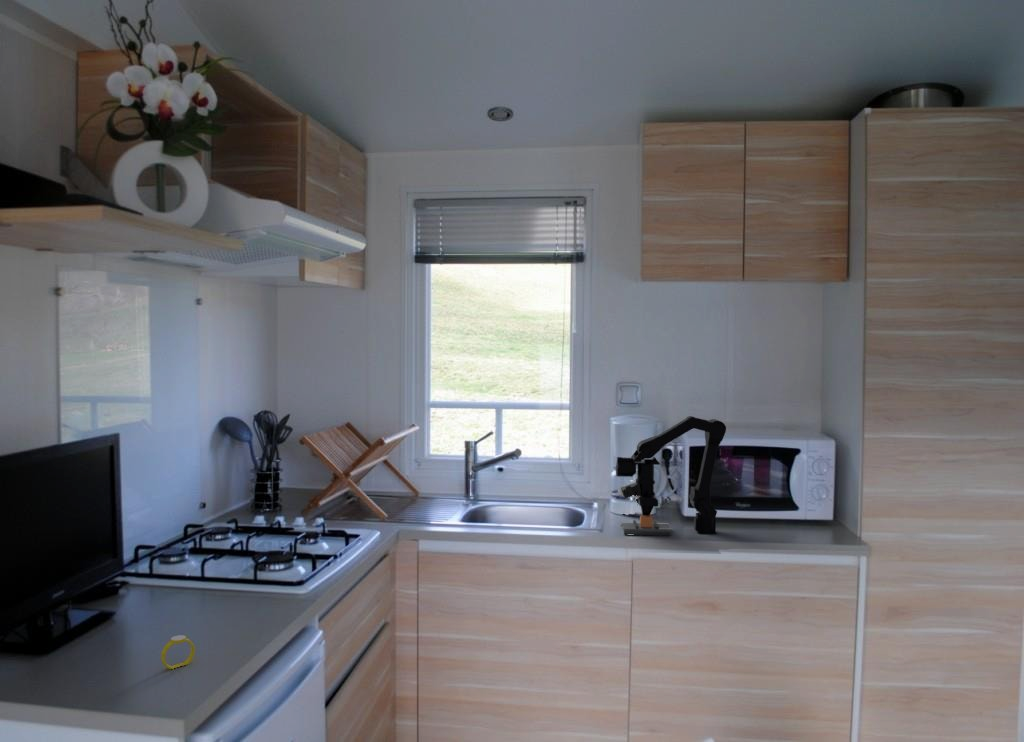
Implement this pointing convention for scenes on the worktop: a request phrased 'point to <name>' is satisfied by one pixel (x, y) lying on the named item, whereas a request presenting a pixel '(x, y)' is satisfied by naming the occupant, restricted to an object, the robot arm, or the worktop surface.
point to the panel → (637, 528)
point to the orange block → (646, 521)
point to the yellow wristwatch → (178, 640)
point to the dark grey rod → (649, 533)
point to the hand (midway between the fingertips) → (645, 520)
